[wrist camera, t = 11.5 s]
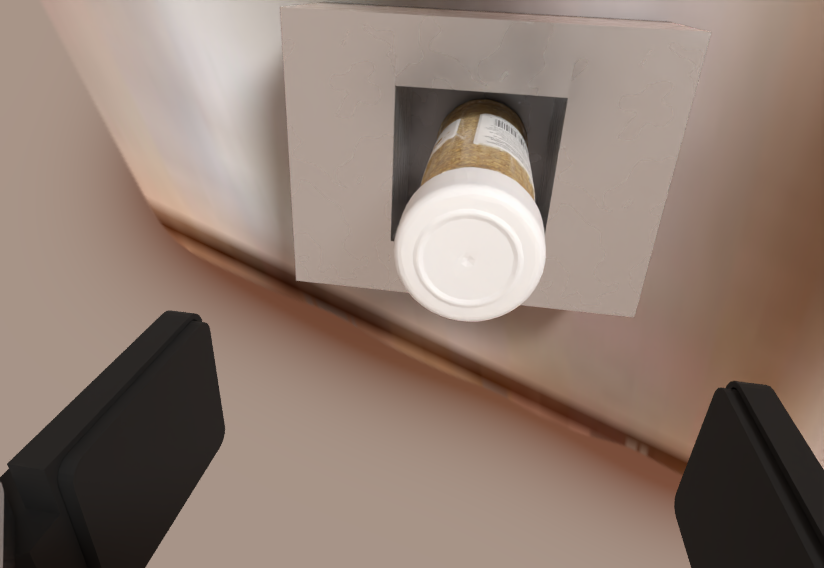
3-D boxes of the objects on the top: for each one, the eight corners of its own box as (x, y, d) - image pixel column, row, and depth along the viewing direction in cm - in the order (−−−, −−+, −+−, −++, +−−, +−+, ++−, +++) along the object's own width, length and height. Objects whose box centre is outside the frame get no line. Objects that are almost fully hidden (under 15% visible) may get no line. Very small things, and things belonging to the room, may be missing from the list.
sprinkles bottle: (422, 120, 28) (364, 220, 16) (510, 81, 27) (514, 160, 15) (458, 201, 30) (427, 344, 18) (542, 169, 28) (568, 302, 17)
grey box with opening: (669, 21, 26) (711, 32, 20) (612, 261, 31) (634, 317, 26) (323, 2, 27) (279, 7, 22) (329, 233, 33) (296, 280, 28)
